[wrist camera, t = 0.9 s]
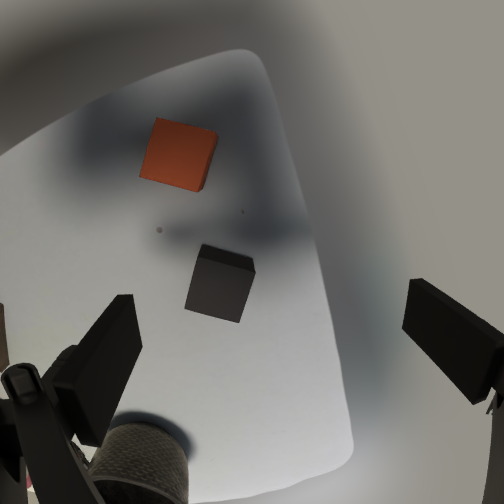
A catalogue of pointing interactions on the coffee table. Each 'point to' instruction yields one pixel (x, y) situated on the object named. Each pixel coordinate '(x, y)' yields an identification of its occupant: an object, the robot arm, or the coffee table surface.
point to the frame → (3, 342)
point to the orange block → (178, 154)
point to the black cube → (220, 284)
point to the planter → (140, 466)
